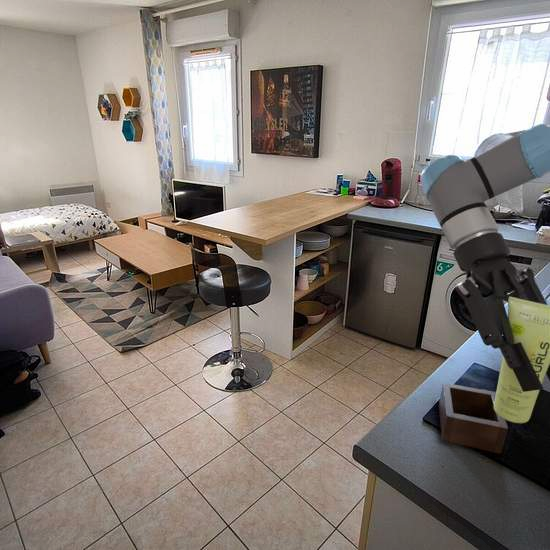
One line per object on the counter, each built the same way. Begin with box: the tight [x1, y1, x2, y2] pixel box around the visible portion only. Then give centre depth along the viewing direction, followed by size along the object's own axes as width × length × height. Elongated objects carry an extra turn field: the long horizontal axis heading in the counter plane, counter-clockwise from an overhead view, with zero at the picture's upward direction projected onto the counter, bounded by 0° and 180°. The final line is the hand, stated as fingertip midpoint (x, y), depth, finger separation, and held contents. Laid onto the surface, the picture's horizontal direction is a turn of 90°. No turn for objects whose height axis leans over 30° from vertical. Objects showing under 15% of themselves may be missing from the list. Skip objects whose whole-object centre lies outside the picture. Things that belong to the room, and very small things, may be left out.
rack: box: [438, 382, 509, 455], centre depth 70 cm, size 10×10×6 cm
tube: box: [494, 297, 550, 424], centre depth 54 cm, size 6×5×20 cm
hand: (547, 385), depth 51 cm, fingers closed on tube, 5 cm apart
